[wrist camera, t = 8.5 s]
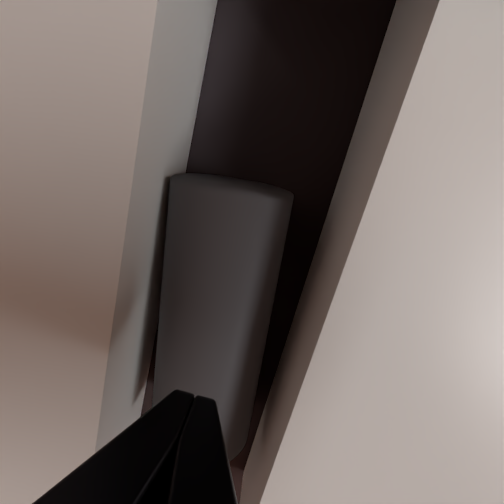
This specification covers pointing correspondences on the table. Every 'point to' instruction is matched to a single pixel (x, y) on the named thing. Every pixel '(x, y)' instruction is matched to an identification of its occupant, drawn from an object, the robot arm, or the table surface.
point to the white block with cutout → (320, 272)
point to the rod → (219, 292)
